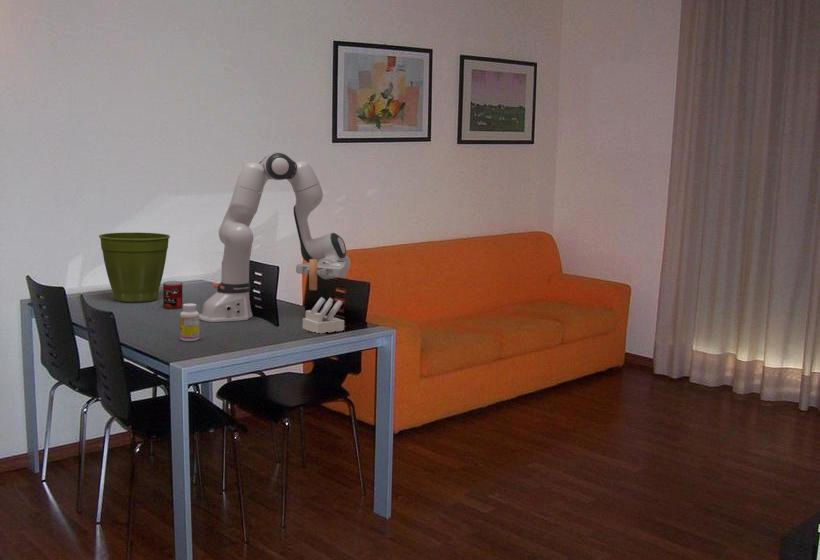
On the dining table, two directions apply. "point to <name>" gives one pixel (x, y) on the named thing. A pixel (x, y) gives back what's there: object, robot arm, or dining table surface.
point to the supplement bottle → (189, 323)
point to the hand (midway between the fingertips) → (312, 272)
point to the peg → (312, 274)
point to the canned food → (172, 295)
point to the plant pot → (134, 264)
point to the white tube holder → (323, 318)
